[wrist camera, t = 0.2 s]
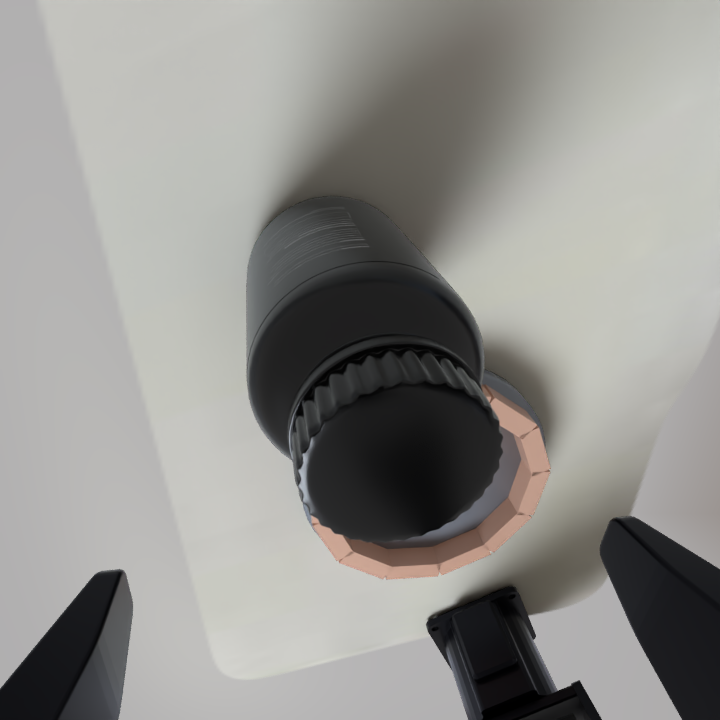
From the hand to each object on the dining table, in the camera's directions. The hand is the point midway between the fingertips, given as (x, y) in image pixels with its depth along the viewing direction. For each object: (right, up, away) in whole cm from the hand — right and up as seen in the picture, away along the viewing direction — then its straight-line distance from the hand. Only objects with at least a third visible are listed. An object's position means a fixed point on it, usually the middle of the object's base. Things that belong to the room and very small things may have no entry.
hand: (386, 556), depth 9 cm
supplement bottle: (-2, +7, +12) cm, 14 cm away
